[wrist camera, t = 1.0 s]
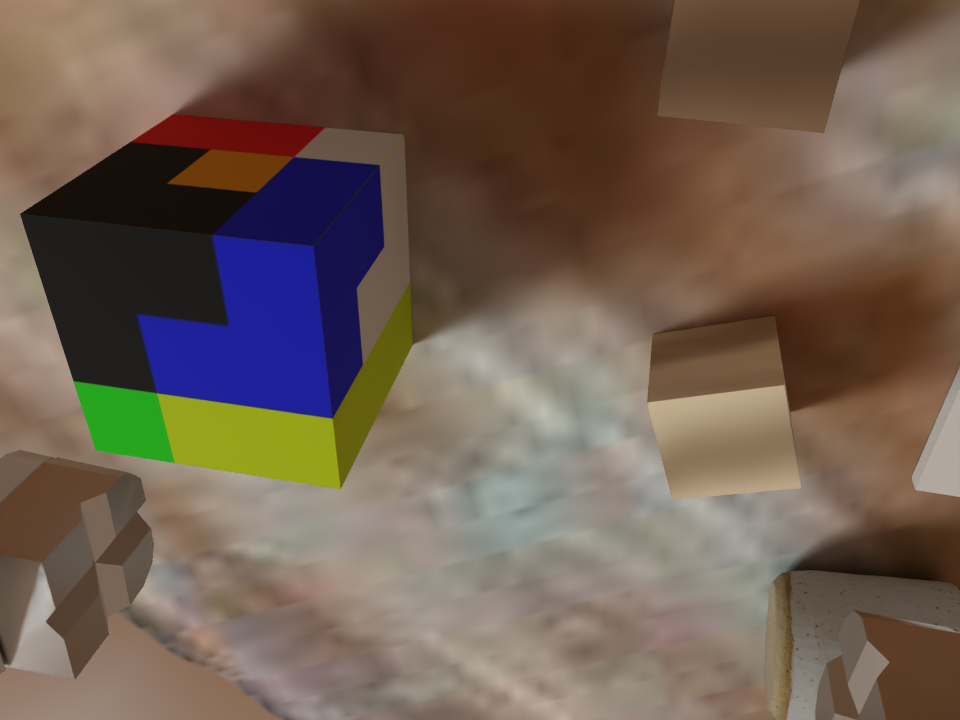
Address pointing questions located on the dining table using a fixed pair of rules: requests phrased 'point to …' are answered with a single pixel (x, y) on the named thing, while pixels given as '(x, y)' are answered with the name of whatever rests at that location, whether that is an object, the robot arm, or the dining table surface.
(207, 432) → the puzzle toy
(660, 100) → the walnut block
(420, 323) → the dining table surface
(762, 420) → the maple block
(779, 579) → the ceramic mug
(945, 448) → the white coaster
